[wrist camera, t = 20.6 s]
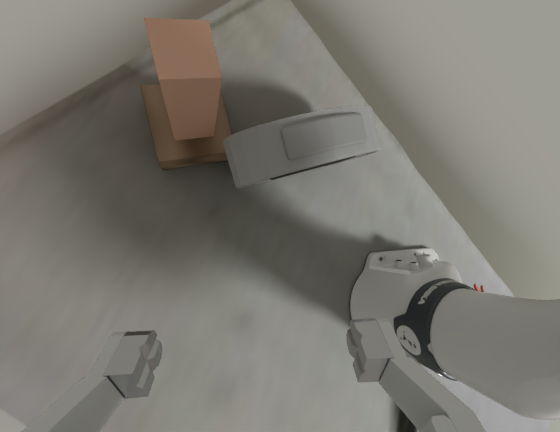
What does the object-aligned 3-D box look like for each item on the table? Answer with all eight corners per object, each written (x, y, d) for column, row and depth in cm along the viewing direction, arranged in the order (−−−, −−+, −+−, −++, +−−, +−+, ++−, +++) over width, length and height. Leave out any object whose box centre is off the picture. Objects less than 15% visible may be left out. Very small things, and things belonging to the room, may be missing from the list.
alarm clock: (228, 192, 37) (247, 183, 25) (216, 153, 36) (230, 123, 24) (350, 160, 45) (409, 141, 33) (342, 126, 44) (399, 94, 32)
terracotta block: (205, 100, 33) (208, 20, 21) (213, 136, 33) (221, 77, 21) (165, 103, 31) (143, 17, 19) (174, 140, 31) (158, 79, 19)
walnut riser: (217, 97, 38) (219, 81, 34) (232, 159, 38) (235, 151, 34) (146, 101, 34) (140, 84, 31) (162, 169, 34) (158, 161, 31)
